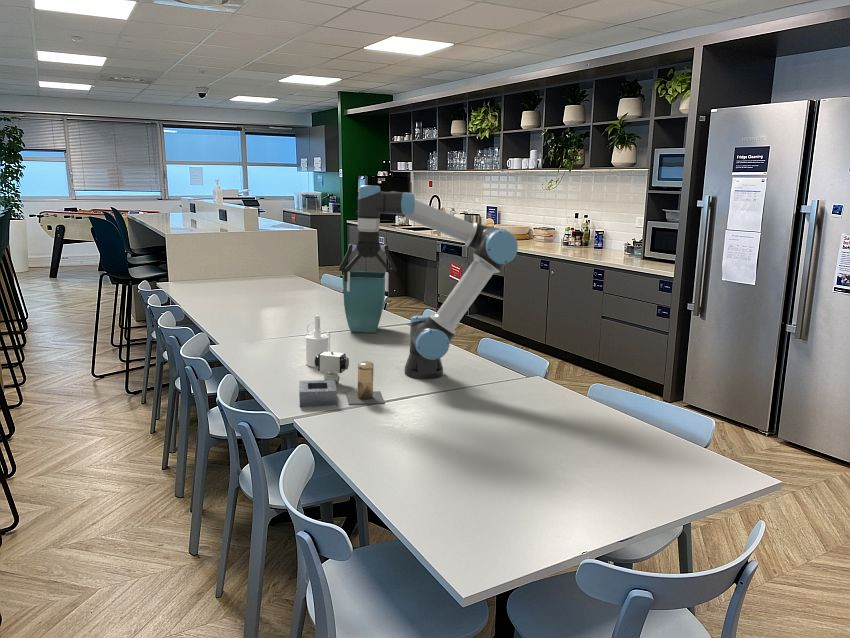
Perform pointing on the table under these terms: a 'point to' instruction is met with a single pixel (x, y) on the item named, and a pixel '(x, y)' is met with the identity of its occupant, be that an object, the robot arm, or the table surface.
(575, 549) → the table surface
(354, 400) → the mat
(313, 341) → the white squeeze bottle
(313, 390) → the block
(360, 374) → the tan cylinder
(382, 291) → the flower pot
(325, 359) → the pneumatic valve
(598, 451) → the table surface
